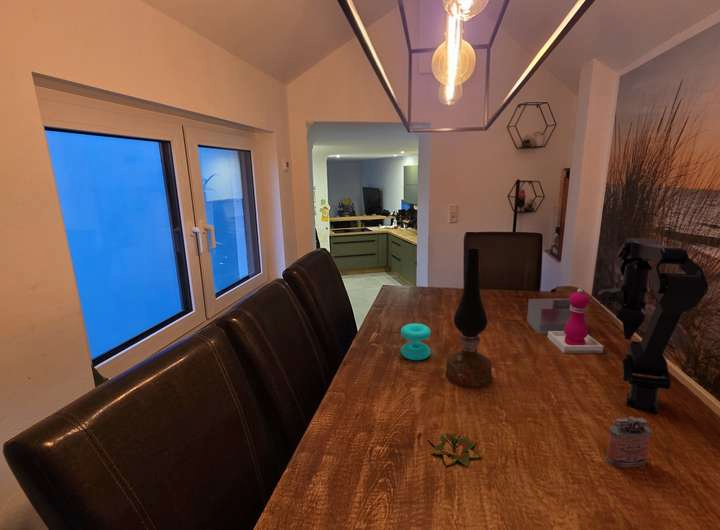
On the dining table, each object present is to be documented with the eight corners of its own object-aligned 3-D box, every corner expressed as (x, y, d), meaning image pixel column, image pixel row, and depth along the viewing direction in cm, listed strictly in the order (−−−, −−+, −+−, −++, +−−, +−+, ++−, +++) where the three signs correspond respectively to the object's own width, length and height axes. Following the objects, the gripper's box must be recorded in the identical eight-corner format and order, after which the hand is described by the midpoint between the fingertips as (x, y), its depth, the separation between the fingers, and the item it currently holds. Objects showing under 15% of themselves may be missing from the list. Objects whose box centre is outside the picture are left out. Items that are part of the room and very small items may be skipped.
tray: (602, 353, 124) (603, 346, 123) (564, 353, 125) (564, 346, 124) (582, 337, 136) (583, 331, 136) (547, 337, 137) (548, 331, 136)
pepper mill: (583, 349, 125) (589, 293, 120) (559, 343, 130) (565, 289, 125) (589, 342, 130) (595, 288, 125) (566, 337, 135) (571, 284, 130)
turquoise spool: (434, 332, 120) (403, 334, 119) (433, 360, 122) (404, 362, 122) (426, 321, 130) (398, 323, 129) (426, 347, 132) (398, 349, 131)
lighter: (638, 453, 79) (644, 412, 77) (650, 465, 76) (658, 423, 74) (601, 455, 79) (607, 414, 77) (612, 467, 76) (618, 425, 74)
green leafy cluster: (442, 477, 75) (442, 458, 74) (418, 439, 87) (418, 421, 86) (493, 464, 78) (494, 445, 77) (464, 429, 90) (464, 412, 89)
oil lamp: (461, 371, 122) (453, 250, 122) (505, 379, 111) (497, 247, 111) (436, 382, 113) (428, 251, 112) (482, 393, 101) (473, 248, 101)
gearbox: (582, 333, 140) (586, 300, 137) (539, 333, 140) (541, 301, 138) (566, 321, 151) (570, 291, 148) (526, 322, 152) (529, 291, 149)
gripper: (605, 271, 116) (599, 318, 120) (597, 285, 102) (591, 338, 106) (649, 276, 109) (642, 325, 113) (648, 292, 95) (640, 348, 99)
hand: (628, 333), depth 108 cm, fingers open, 9 cm apart
